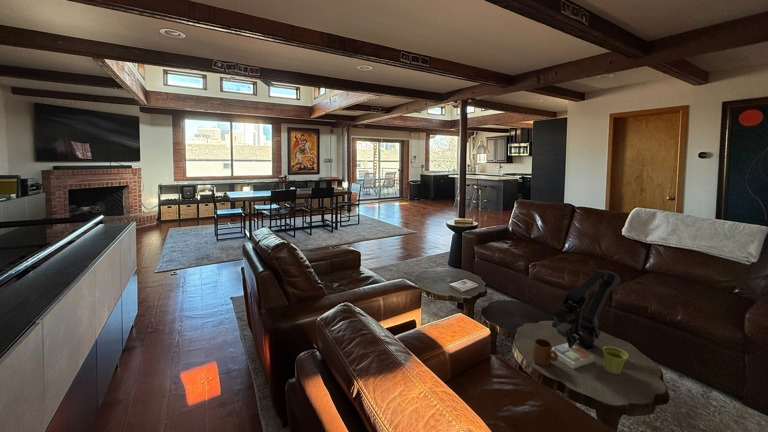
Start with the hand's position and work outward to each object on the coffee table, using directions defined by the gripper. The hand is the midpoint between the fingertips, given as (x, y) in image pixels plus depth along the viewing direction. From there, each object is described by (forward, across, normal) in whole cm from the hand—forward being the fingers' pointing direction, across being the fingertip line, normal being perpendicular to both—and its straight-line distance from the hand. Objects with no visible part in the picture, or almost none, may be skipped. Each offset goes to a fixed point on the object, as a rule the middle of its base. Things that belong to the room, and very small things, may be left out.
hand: (570, 347), depth 172 cm
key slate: (+1, 0, -6) cm, 6 cm away
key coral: (+1, +6, 0) cm, 6 cm away
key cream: (+2, 0, 0) cm, 2 cm away
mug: (+3, +2, -18) cm, 18 cm away
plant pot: (+3, +17, +6) cm, 18 cm away
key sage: (+1, +6, -6) cm, 8 cm away
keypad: (+3, +3, -3) cm, 5 cm away
